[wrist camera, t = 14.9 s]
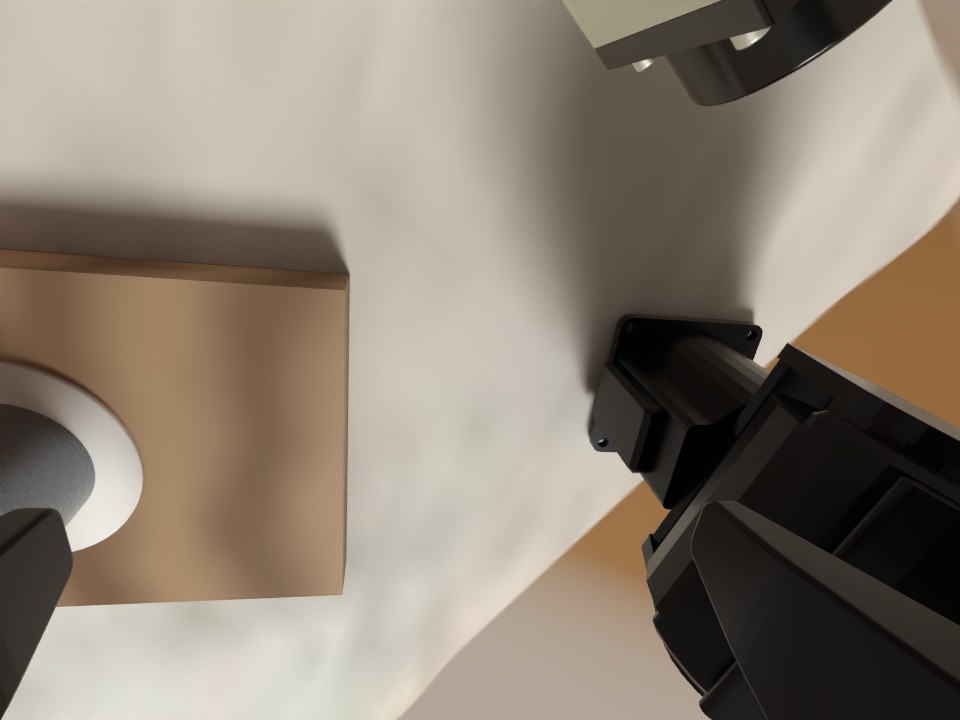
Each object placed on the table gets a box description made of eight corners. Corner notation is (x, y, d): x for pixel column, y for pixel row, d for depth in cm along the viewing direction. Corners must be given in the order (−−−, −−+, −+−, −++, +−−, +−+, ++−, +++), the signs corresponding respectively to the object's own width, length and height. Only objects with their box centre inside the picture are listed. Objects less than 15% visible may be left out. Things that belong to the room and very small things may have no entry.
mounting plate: (349, 274, 18) (343, 293, 16) (346, 559, 24) (341, 600, 22) (-267, 229, 15) (-371, 246, 13) (-104, 573, 21) (-159, 622, 19)
